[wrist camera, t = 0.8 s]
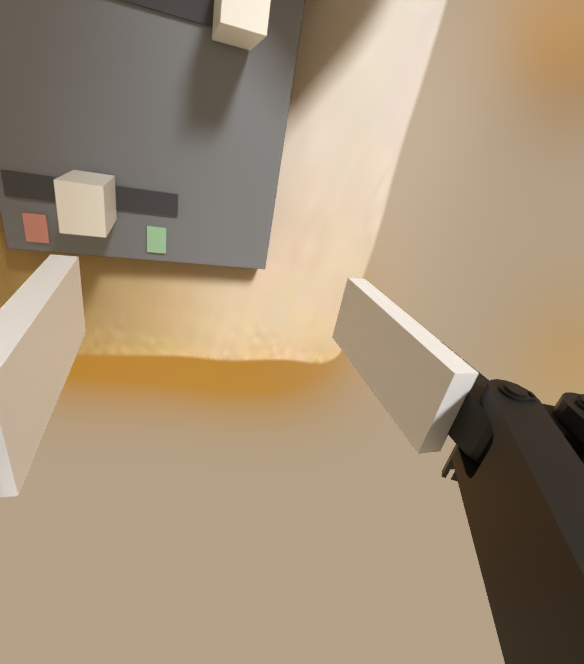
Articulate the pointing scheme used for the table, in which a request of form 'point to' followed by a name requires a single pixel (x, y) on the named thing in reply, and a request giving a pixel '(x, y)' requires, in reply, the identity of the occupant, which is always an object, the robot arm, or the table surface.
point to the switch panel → (144, 125)
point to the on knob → (240, 22)
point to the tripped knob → (85, 203)
